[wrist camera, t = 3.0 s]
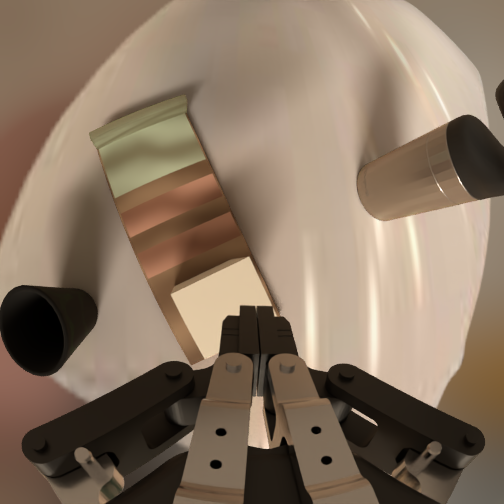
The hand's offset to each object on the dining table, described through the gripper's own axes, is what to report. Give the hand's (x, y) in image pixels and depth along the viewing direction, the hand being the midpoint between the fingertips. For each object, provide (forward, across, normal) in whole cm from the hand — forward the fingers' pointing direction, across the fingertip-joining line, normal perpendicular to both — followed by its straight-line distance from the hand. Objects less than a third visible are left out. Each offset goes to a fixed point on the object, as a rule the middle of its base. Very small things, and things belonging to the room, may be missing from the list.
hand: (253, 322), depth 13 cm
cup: (+14, +20, +10) cm, 26 cm away
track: (+20, +8, +1) cm, 21 cm away
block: (+17, +3, +8) cm, 19 cm away
